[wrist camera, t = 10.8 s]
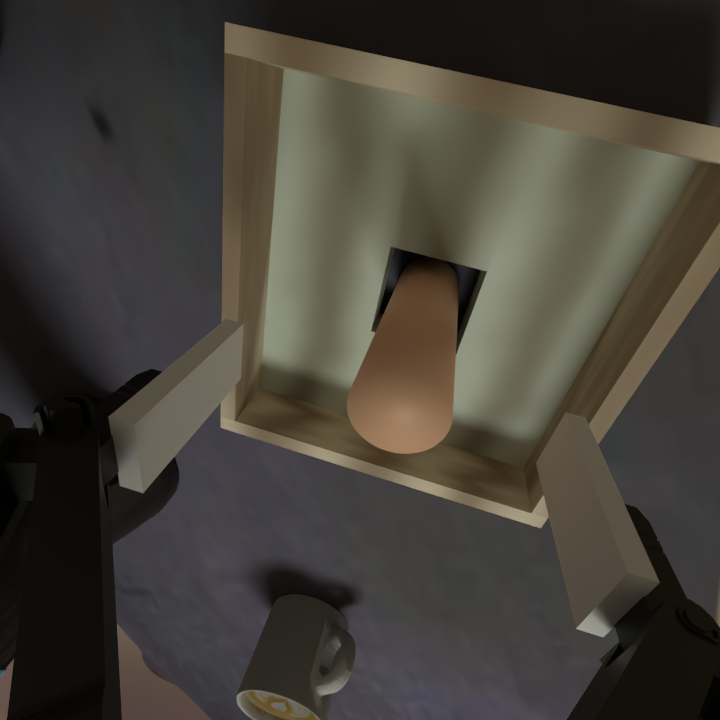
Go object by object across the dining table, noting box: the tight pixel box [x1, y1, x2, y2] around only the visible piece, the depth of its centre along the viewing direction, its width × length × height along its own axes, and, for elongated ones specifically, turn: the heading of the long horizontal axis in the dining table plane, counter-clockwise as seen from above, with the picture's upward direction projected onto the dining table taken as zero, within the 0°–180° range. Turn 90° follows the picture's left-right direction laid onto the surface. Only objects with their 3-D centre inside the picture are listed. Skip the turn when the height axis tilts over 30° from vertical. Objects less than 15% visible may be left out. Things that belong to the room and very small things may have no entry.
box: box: [221, 22, 720, 528], centre depth 24 cm, size 22×22×7 cm
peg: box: [347, 258, 459, 454], centre depth 21 cm, size 4×4×14 cm
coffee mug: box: [236, 594, 356, 720], centre depth 47 cm, size 13×10×10 cm
